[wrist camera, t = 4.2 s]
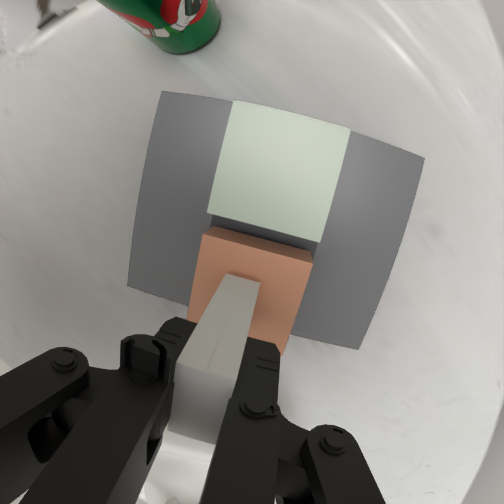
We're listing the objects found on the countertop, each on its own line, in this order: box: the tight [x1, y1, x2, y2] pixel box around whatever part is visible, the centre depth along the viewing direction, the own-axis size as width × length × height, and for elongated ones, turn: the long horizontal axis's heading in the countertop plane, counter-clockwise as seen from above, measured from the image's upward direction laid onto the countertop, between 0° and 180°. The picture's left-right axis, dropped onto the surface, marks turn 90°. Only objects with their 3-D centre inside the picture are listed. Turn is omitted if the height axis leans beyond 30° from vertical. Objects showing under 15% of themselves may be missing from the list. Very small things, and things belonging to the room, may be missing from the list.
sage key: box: [207, 100, 351, 243], centre depth 14 cm, size 5×5×2 cm
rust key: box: [187, 226, 313, 356], centre depth 16 cm, size 5×5×2 cm
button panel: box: [127, 91, 425, 350], centre depth 19 cm, size 15×12×4 cm
